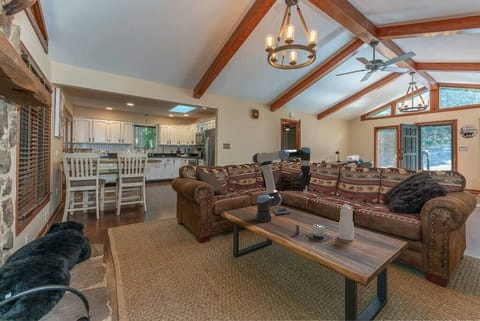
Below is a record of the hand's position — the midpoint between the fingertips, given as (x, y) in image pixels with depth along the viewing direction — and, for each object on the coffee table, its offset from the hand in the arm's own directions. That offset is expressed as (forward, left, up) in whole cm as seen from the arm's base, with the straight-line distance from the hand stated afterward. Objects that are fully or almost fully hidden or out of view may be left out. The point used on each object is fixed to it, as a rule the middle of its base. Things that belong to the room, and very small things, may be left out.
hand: (305, 193), depth 183 cm
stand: (+9, -18, -29) cm, 36 cm away
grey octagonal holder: (+21, -8, -26) cm, 35 cm away
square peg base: (+21, -8, -29) cm, 37 cm away
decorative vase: (+31, +10, -30) cm, 44 cm away
